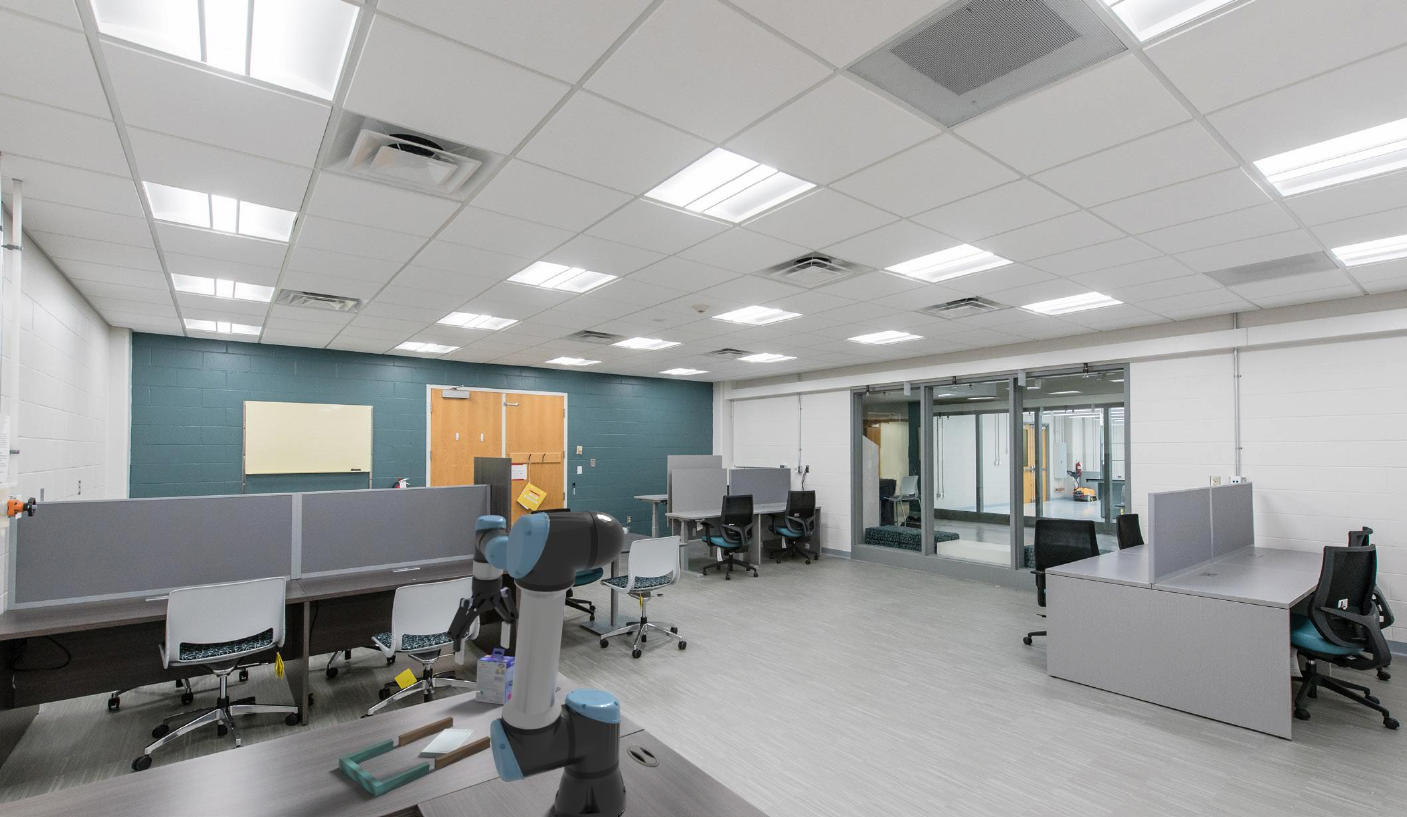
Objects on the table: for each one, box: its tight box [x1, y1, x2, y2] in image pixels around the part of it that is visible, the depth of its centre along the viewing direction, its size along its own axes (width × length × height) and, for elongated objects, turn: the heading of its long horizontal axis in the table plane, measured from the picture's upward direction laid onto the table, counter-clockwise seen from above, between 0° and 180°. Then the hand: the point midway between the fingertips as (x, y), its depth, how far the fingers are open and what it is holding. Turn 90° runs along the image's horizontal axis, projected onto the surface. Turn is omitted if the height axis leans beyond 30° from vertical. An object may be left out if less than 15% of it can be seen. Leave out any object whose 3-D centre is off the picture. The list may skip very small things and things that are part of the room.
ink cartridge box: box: [475, 647, 515, 705], centre depth 182 cm, size 10×6×14 cm, turn 78°
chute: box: [338, 716, 491, 798], centre depth 149 cm, size 19×28×2 cm
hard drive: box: [419, 728, 475, 758], centre depth 155 cm, size 2×8×12 cm
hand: (482, 654), depth 160 cm, fingers open, 13 cm apart
